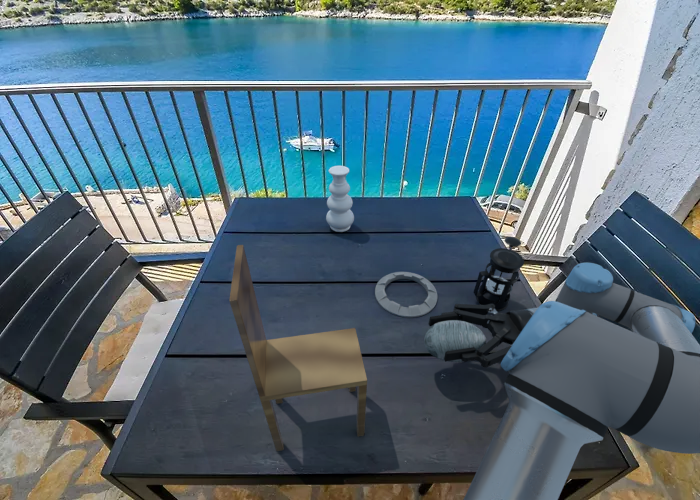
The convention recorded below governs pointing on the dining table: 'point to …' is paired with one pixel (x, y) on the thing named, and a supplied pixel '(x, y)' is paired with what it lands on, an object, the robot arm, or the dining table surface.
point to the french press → (497, 285)
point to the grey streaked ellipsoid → (452, 337)
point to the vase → (339, 201)
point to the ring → (396, 308)
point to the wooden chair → (294, 356)
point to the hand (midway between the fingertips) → (437, 338)
